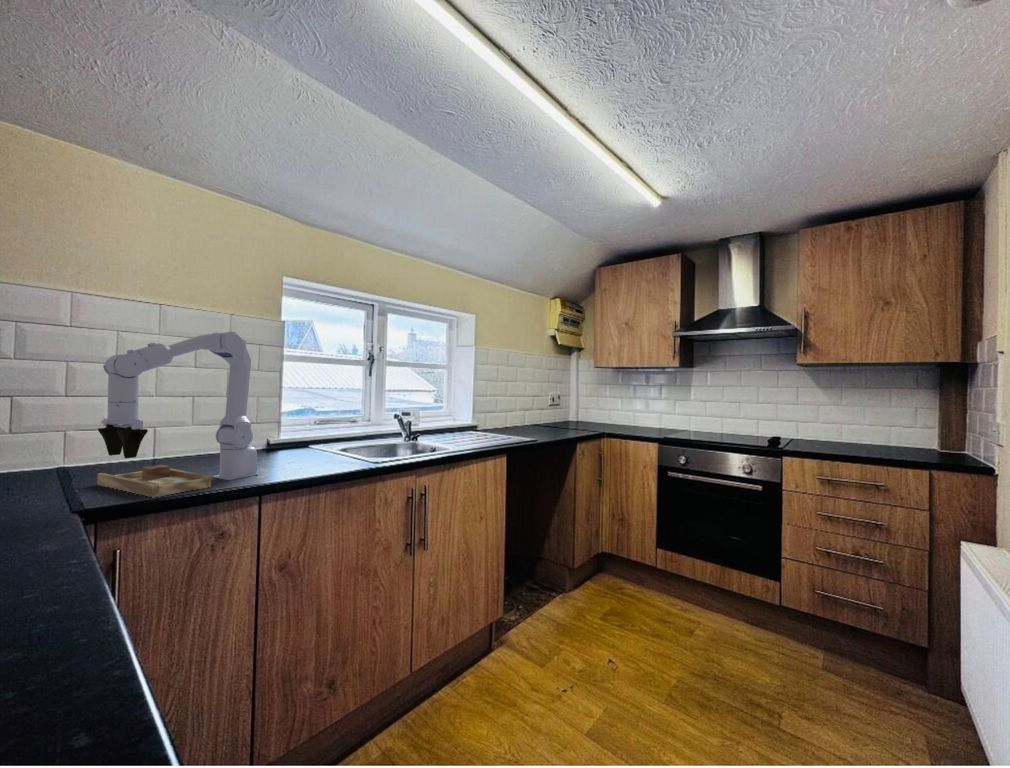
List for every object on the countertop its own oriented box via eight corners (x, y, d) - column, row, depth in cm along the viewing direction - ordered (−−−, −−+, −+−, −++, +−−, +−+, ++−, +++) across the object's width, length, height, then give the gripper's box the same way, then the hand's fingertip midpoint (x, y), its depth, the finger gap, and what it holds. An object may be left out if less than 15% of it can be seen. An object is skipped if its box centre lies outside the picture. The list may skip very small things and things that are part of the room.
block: (160, 475, 123) (160, 464, 123) (169, 476, 121) (169, 466, 121) (141, 478, 119) (142, 467, 119) (150, 479, 117) (150, 468, 117)
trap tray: (154, 475, 129) (154, 465, 129) (210, 487, 117) (211, 475, 117) (97, 484, 117) (97, 473, 117) (153, 498, 105) (153, 485, 105)
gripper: (88, 401, 106) (87, 456, 106) (118, 403, 100) (117, 461, 100) (123, 400, 113) (122, 452, 113) (153, 402, 107) (152, 457, 107)
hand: (122, 456), depth 107 cm, fingers open, 7 cm apart
